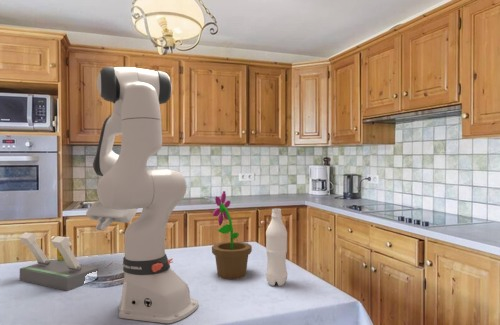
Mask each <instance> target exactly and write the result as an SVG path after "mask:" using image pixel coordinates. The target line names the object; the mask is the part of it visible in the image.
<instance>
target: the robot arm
mask: <svg viewBox="0 0 500 325" xmlns="http://www.w3.org/2000/svg"><path fill="white" fill-rule="evenodd" d="M96 87H97V91H98V93H99V96H100V97H101V99H103V100H104V101H107V102H110V103H112V104H113V108H112V110H113V111H112V114H111V115H108V116H107V117H106V118H105V119H104V122H103V123H102V127H101V132H100V135H99V140H98V144H97V150H96V154H95V156H94V158H93V159H94V160H93V162H92V168H93V170H94V172H95V174H96V175H97V176H98V177H100V179H99V180H98V183H97V188H96V194H97V197H98V200H96V201H95V202H94V203H93V204H91V206H89V207H88V210H87V211H86V216H87V217H88V218H89V219H90V220H94V221H95V220H96V221H97V224H96V226H95V229H96V230H97V231H105V230H106V229H107V227H109V226H110V225H112V224H113V222H114V223H121V224H123V223H124V224H128V226H127V227H126V229H125V232H124V256H123V258H122V259H123V260H122V270H123V273H124V275H123V284H122V291H121V298H120V302H119V306H118V310H119V313H118V317H119V318H120V319H127V320H135V321H145V322H151V323H152V322H153V323H158V324H159V323H161V324H172V323H177V322H179V321H181V320H183V319H185V318H187V317H189V316H190V315H191V314H192V313H195V311H196V310H197V309H198V307H199V301H198V300H197V299H193V298H191V294H190V292H191V291H190V288H189V286H188V284H187V283H186V282H185V281H184V280H183V279H182V278H181V277H180V276H179V275H178V274H177V273H176V272H175V271H174V270H172V268H171V265H170V264H171V263H174V262H173V260H174V258H169V259H168V256H167V254H166V230H167V225H168V222H169V218H170V216H171V214H172V212H173V211H174V209H175V207H176V206H177V205H178V204H179V203H180V202H181V201H182V200H183V198H184V197H185V196H186V192H187V181H186V179H185V176H184V175H183V174H182V173H181V172H180V171H177V170H173V169H170V168H169V169H168V168H147V162H148V160H149V158H150V157H152V156H154V155H156V154H157V153H158V152H160V151H161V148H162V146H163V129H162V111H161V106H160V105H163V104H166V103H167V102H168V101H169V100H170V99H171V95H172V92H173V84H172V81H171V78H170V76H169V75H168V73H166V72H164V71H160V70H156V71H155V70H152V69H151V70H150V69H145V68H138V67H134V66H133V67H132V66H130V67H129V66H122V67H121V66H118V67H114V66H106V67H103V68H101V69H100V70H99V74H98V75H97V79H96ZM116 136H121V142H120V143H121V145H120V151H119V154H118V153H115V151H114V150H113V148H114V147H113V146H114V144H115V143H114V142H115V138H116ZM138 209H141V213H140V215H139V216H138V218H137V219H135V220H134V221H133V219H134V217H135V216H136V213H137V212H138V211H137V210H138ZM131 221H132V222H131ZM130 222H131V223H130ZM129 223H130V224H129Z"/></svg>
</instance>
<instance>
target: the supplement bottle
mask: <svg viewBox="0 0 500 325" xmlns="http://www.w3.org/2000/svg"><path fill="white" fill-rule="evenodd" d="M66 237H67V239H68V241H69V243H70V244H69V247H70V249H71V251H72V252H73V244H72V242H71V237H70V236H66ZM56 252H57V253H56V257H57V259H56V260H57V261H63V262H65V260H64V258H63V257H62V255H61V253H60V252H59V250H58V248H56Z"/></svg>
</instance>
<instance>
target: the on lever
mask: <svg viewBox="0 0 500 325" xmlns="http://www.w3.org/2000/svg"><path fill="white" fill-rule="evenodd" d="M18 239H19V240H20V242H22V244H25V245H26V247H27V248H28V249H29V251H30V252H31V254H32V255H33V257H34V258H35V260H36V261H37V263H36V264H38V263H39V264H44V265H49V264H50V260H51V259H49V258H47V256H46V254H45V253H44V251H43V249H42V248H41V246H40V245H39V244H38V242H37V240H38V237H36V235H35V234H34V233H33V232H26V231H25V232H24V233H23V234H21V235H20V236H19V237H18Z"/></svg>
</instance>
